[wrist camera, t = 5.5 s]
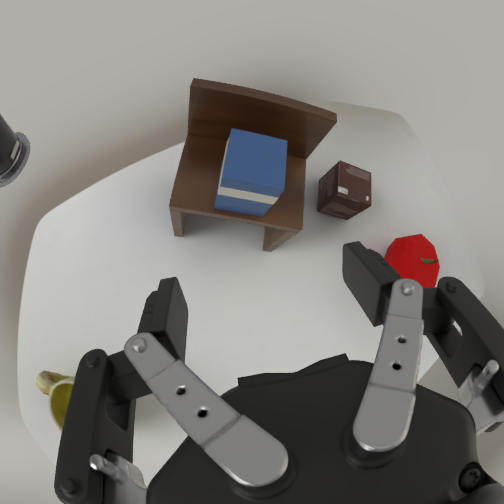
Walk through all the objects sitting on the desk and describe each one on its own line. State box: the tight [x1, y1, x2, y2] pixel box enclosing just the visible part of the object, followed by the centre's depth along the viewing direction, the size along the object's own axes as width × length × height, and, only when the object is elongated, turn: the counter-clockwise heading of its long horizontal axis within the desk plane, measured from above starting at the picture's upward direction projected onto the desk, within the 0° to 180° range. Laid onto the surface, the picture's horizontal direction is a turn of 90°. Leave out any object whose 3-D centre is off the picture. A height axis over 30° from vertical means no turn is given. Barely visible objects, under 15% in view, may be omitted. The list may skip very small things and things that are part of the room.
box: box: [317, 161, 371, 220], centre depth 41 cm, size 6×6×7 cm
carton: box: [214, 128, 288, 217], centre depth 25 cm, size 5×5×7 cm
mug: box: [35, 371, 76, 432], centre depth 27 cm, size 12×10×10 cm
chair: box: [169, 78, 337, 252], centre depth 31 cm, size 10×14×20 cm
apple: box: [384, 234, 440, 288], centre depth 41 cm, size 11×11×10 cm
